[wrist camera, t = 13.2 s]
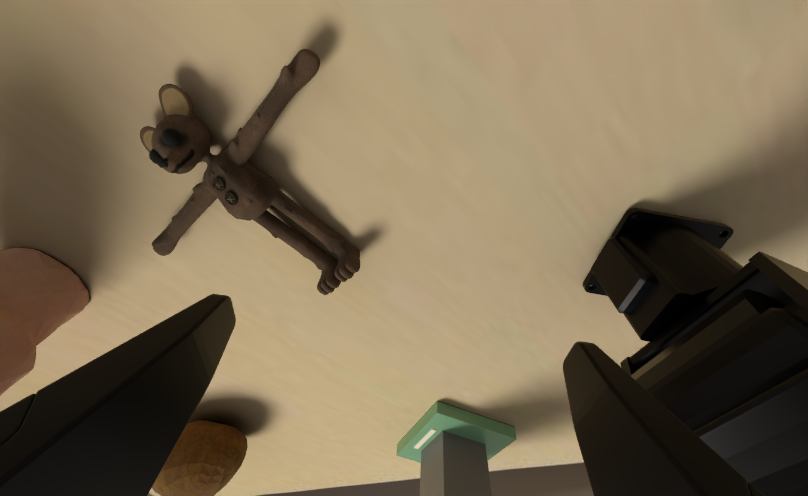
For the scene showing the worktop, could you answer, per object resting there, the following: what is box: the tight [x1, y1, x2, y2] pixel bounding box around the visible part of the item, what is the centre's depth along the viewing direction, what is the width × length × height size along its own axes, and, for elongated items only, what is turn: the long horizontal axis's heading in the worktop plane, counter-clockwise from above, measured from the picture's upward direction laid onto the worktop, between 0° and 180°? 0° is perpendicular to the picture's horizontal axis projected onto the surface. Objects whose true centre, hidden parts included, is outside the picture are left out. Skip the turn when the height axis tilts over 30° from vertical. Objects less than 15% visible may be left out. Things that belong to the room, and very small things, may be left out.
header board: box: [397, 401, 516, 463], centre depth 35 cm, size 10×9×3 cm
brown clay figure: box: [140, 49, 360, 295], centre depth 20 cm, size 18×4×14 cm
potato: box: [152, 420, 247, 496], centre depth 36 cm, size 8×12×8 cm, turn 130°
